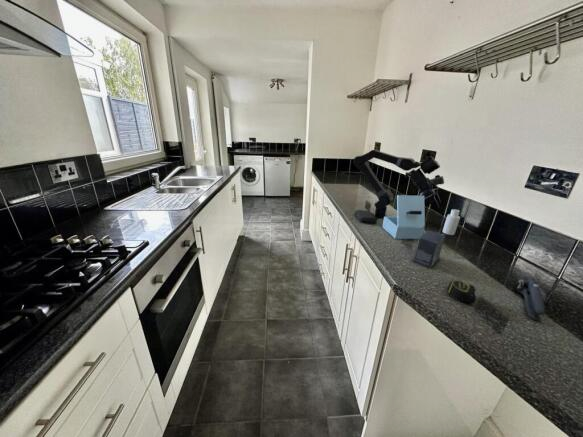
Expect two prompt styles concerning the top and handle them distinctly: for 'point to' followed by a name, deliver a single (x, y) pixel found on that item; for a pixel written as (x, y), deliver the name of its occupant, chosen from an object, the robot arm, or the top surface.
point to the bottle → (451, 222)
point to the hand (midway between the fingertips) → (439, 205)
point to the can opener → (532, 297)
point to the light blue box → (401, 229)
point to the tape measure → (462, 291)
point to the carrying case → (365, 216)
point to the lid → (410, 211)
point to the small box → (429, 248)
